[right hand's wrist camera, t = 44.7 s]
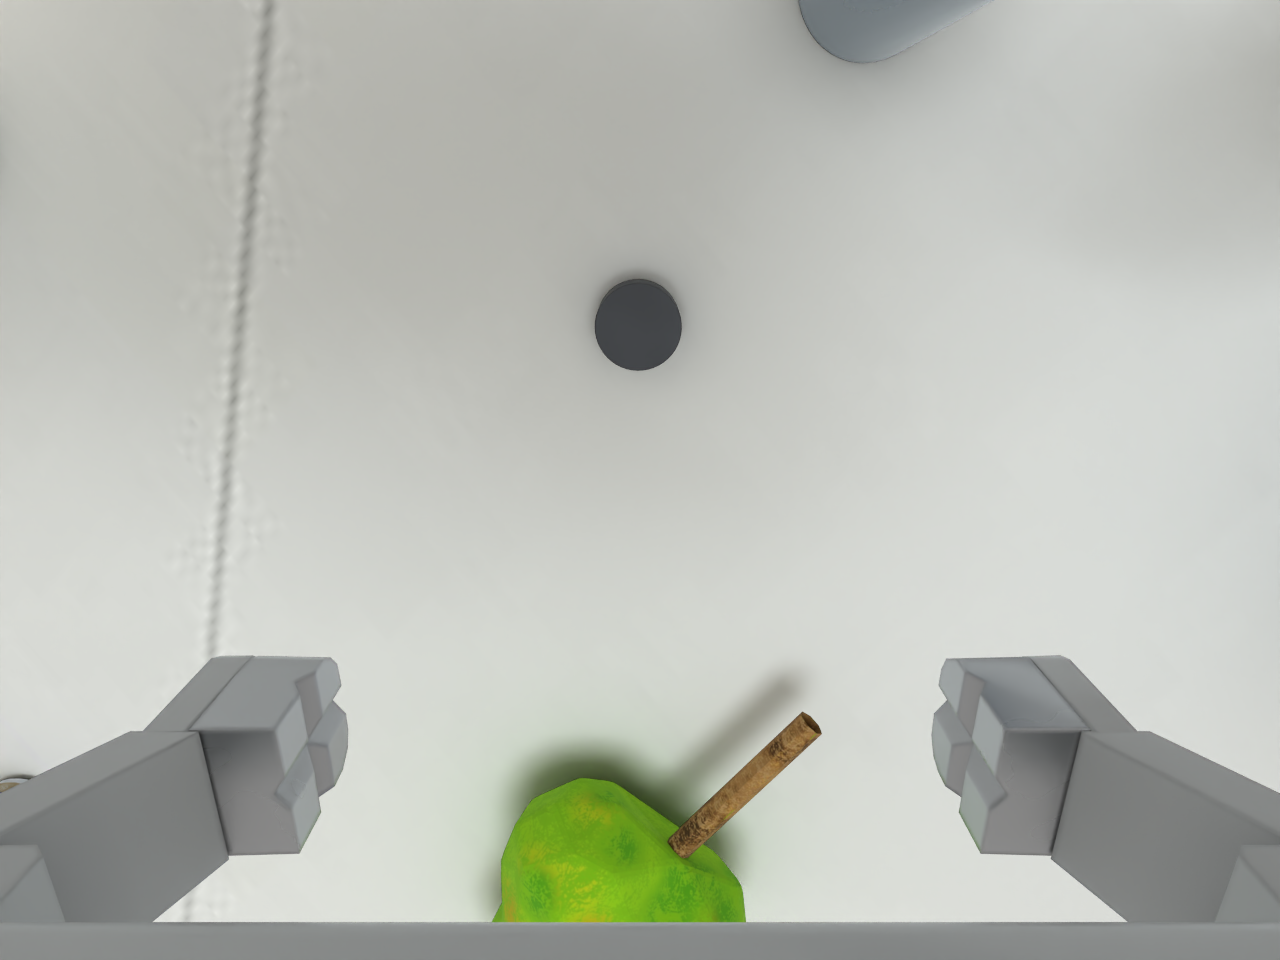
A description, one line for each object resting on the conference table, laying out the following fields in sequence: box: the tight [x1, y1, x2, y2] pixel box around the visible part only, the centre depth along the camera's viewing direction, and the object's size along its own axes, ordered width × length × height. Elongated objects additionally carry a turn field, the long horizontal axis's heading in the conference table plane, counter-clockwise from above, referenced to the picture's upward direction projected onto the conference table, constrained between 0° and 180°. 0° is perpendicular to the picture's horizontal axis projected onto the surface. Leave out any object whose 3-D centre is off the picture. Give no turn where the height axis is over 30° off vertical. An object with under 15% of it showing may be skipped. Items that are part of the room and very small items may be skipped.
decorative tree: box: [492, 712, 822, 922], centre depth 49 cm, size 18×10×30 cm
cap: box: [595, 279, 682, 371], centre depth 41 cm, size 4×4×2 cm
